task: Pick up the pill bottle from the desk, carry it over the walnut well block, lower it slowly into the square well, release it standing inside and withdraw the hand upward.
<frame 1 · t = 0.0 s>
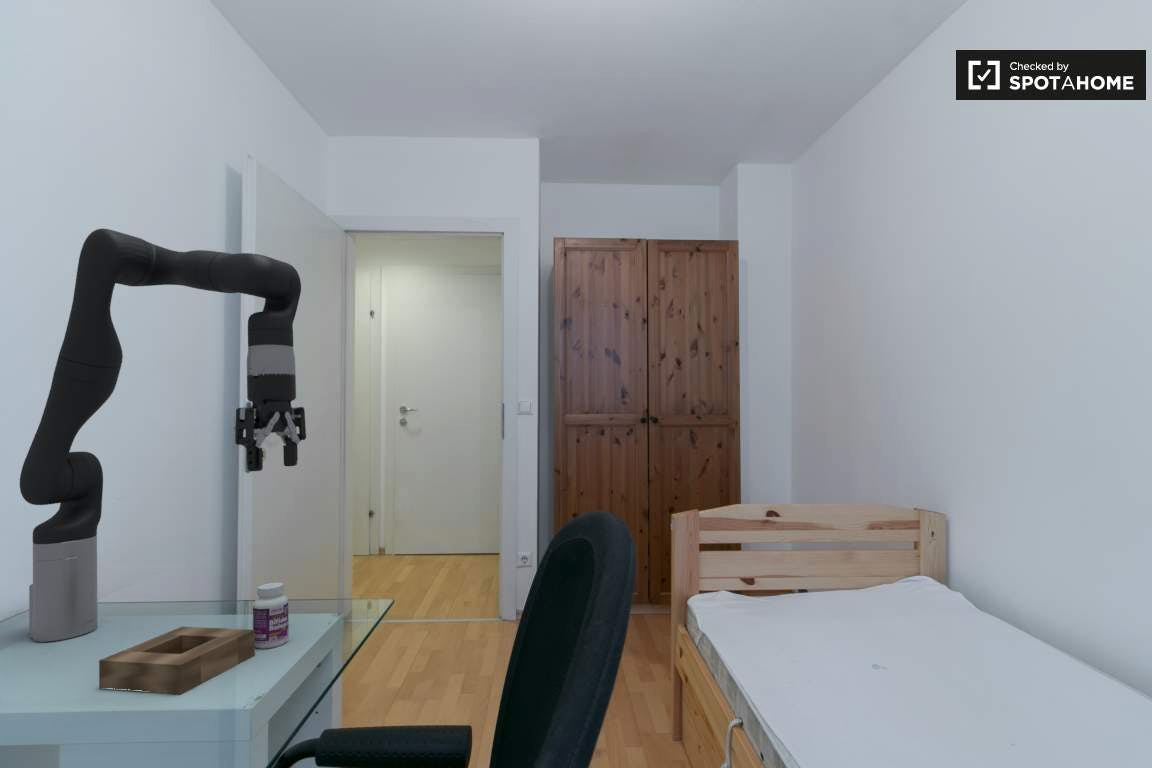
hand: (273, 468, 106), 29 cm above the table, fingers open, 8 cm apart
pill bottle: (271, 644, 104), on the table
well block: (181, 671, 94), on the table
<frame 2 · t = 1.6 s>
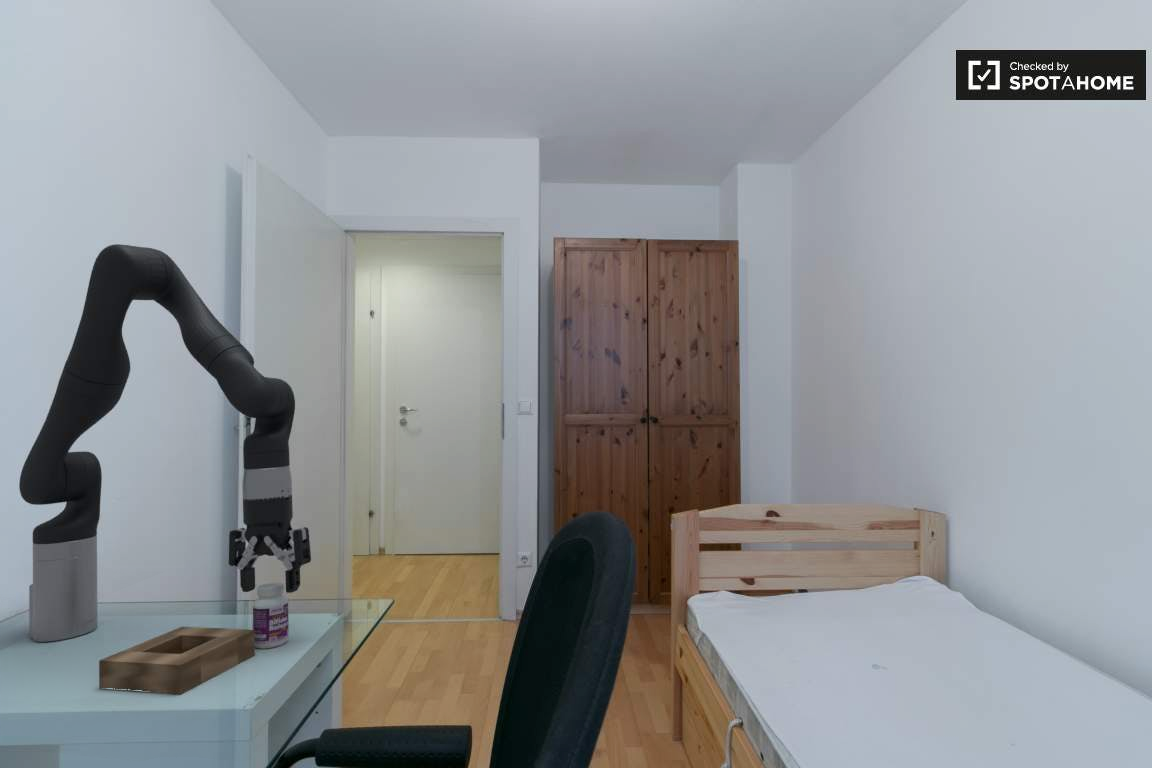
hand: (270, 591, 104), 9 cm above the table, fingers open, 8 cm apart
nothing on the table moved.
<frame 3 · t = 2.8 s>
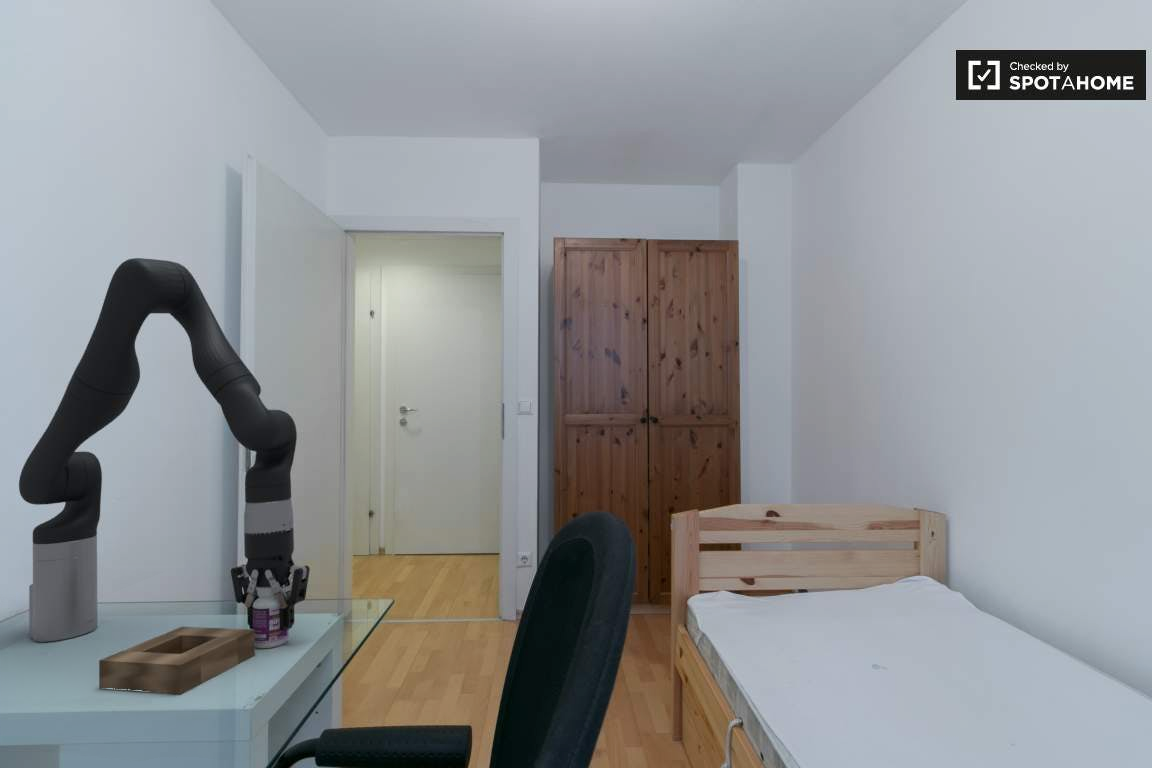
hand: (271, 628, 104), 3 cm above the table, fingers closed on pill bottle, 5 cm apart
pill bottle: (271, 644, 104), on the table, touching gripper
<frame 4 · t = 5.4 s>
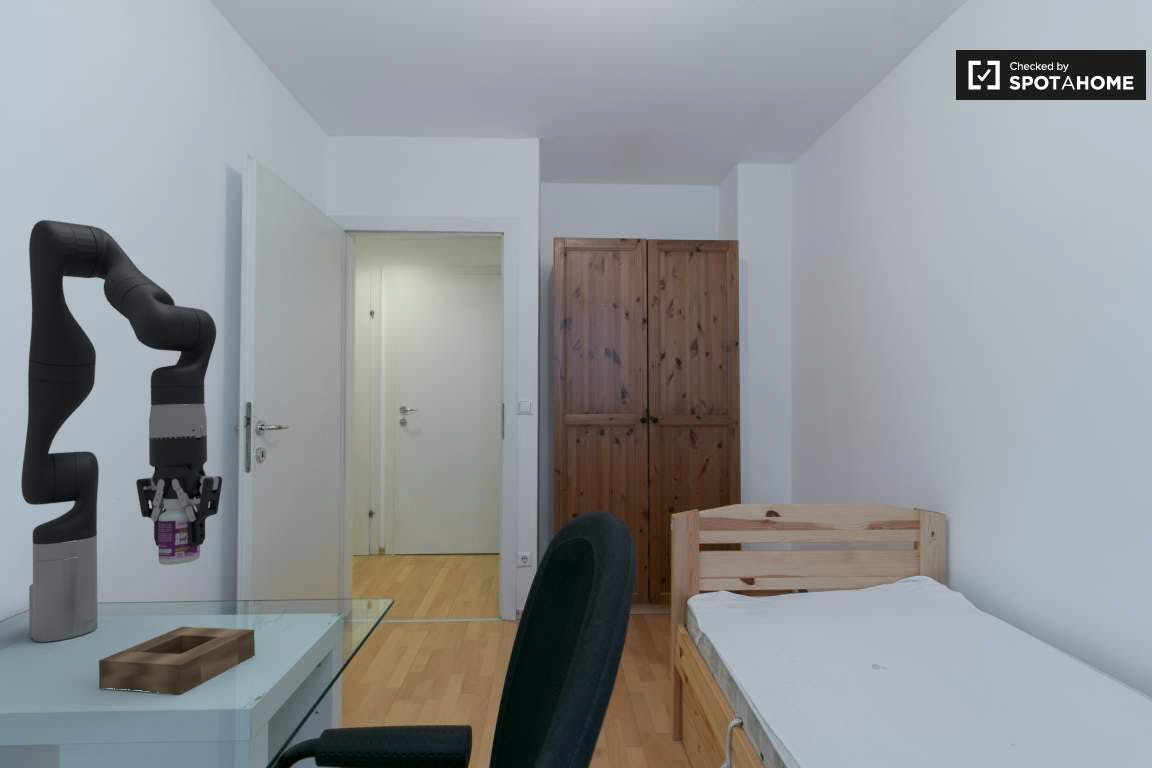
hand: (179, 544, 95), 19 cm above the table, fingers closed on pill bottle, 5 cm apart
pill bottle: (179, 562, 95), point 16 cm above the table, touching gripper
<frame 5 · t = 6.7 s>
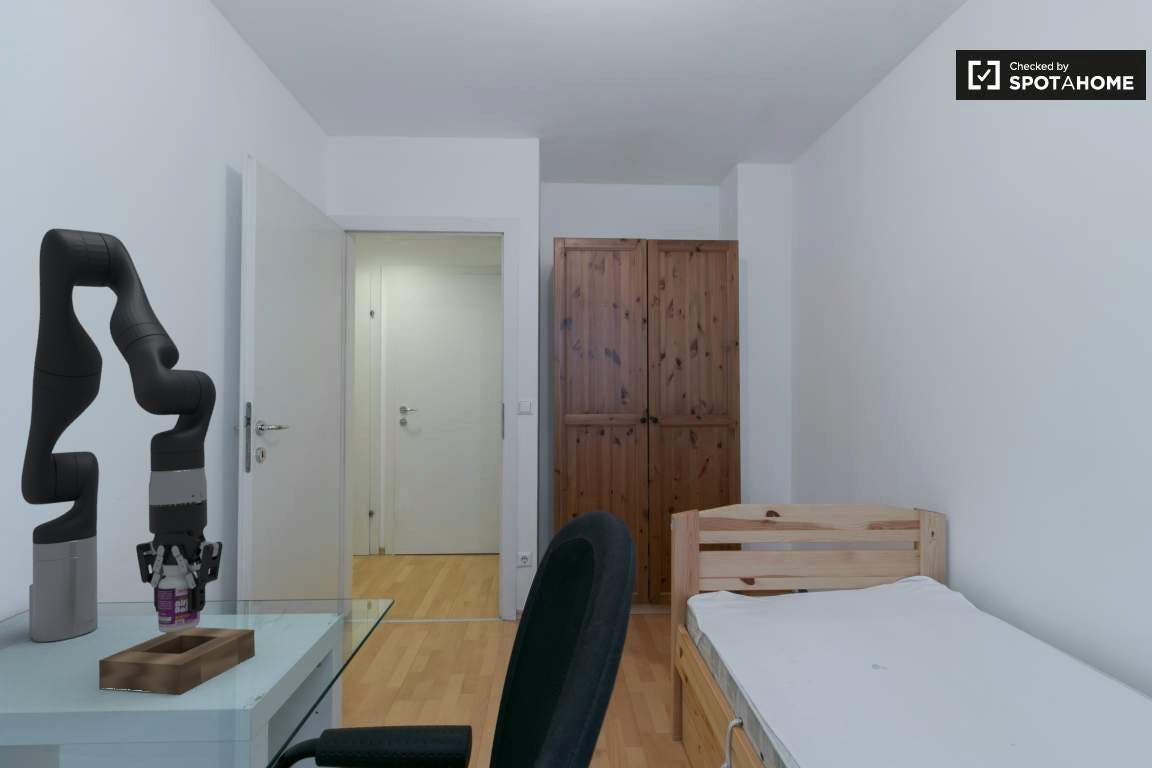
hand: (179, 610, 94), 9 cm above the table, fingers closed on pill bottle, 5 cm apart
pill bottle: (179, 628, 94), point 6 cm above the table, touching gripper
when the fingers open (5 cm above the table, at t = 8.0 s): pill bottle drops 2 cm, resting on well block.
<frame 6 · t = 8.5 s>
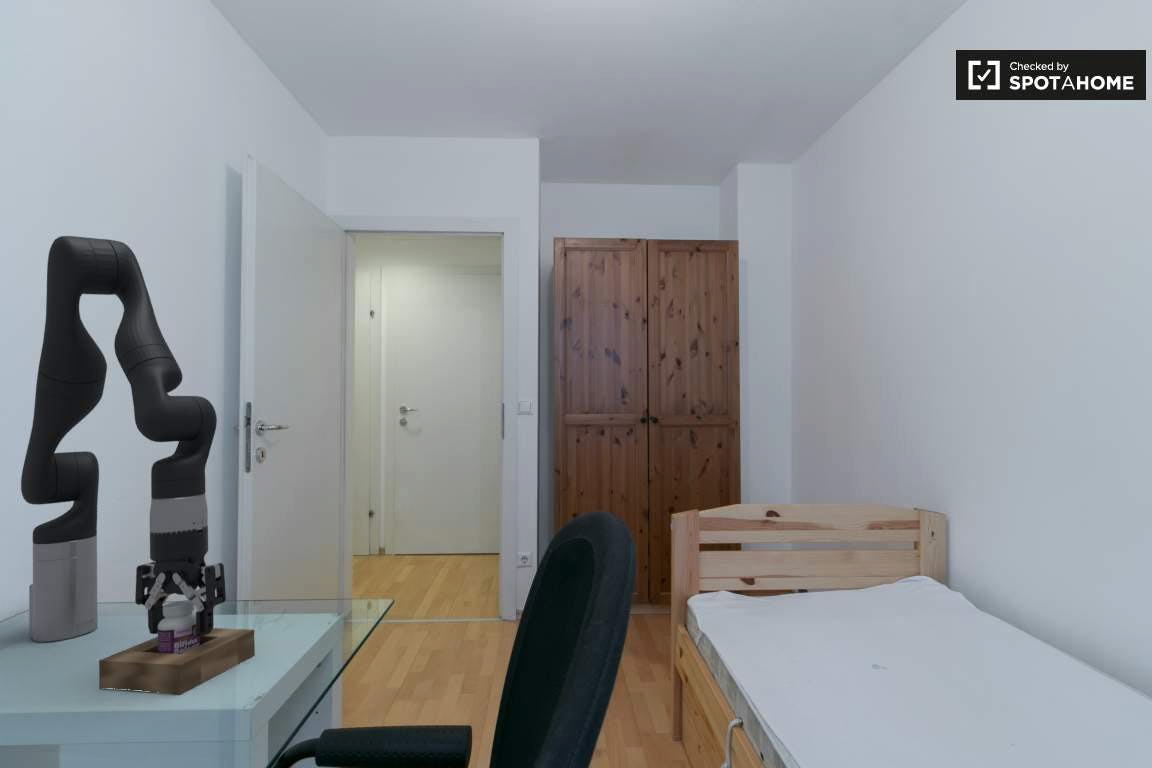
hand: (180, 633, 94), 6 cm above the table, fingers open, 8 cm apart
pill bottle: (179, 669, 94), resting on well block
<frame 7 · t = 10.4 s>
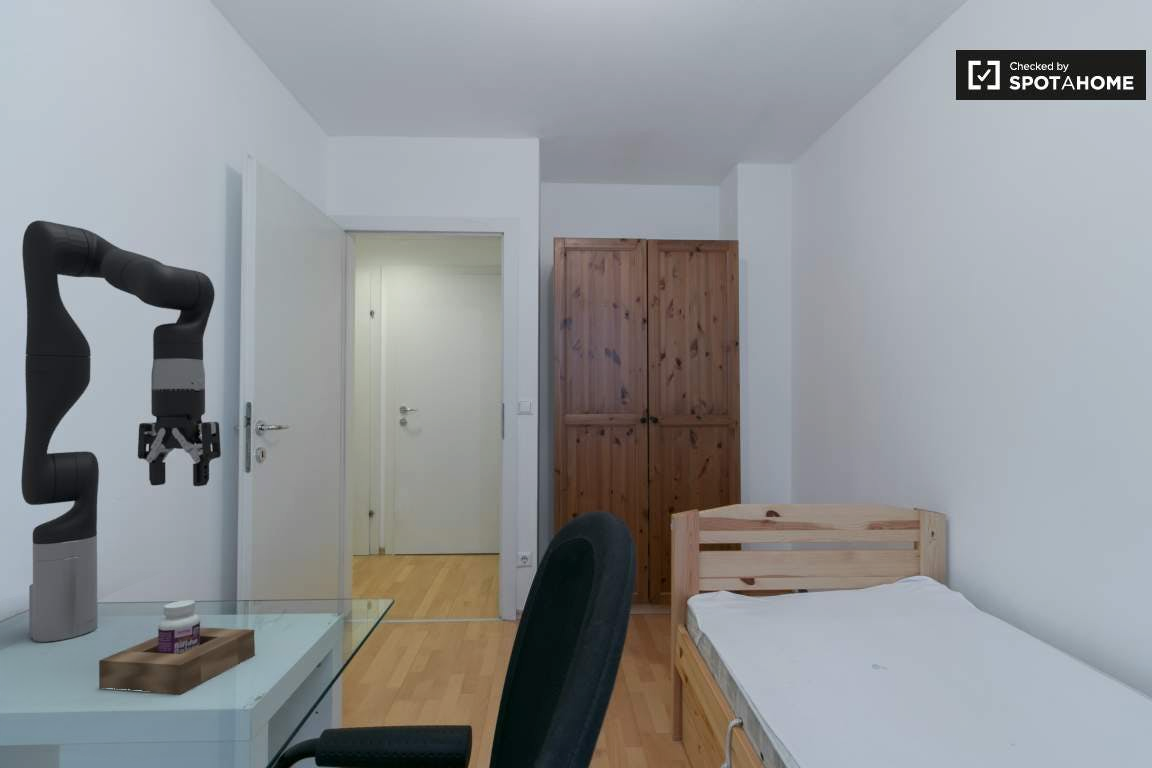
hand: (179, 485, 103), 27 cm above the table, fingers open, 8 cm apart
nothing on the table moved.
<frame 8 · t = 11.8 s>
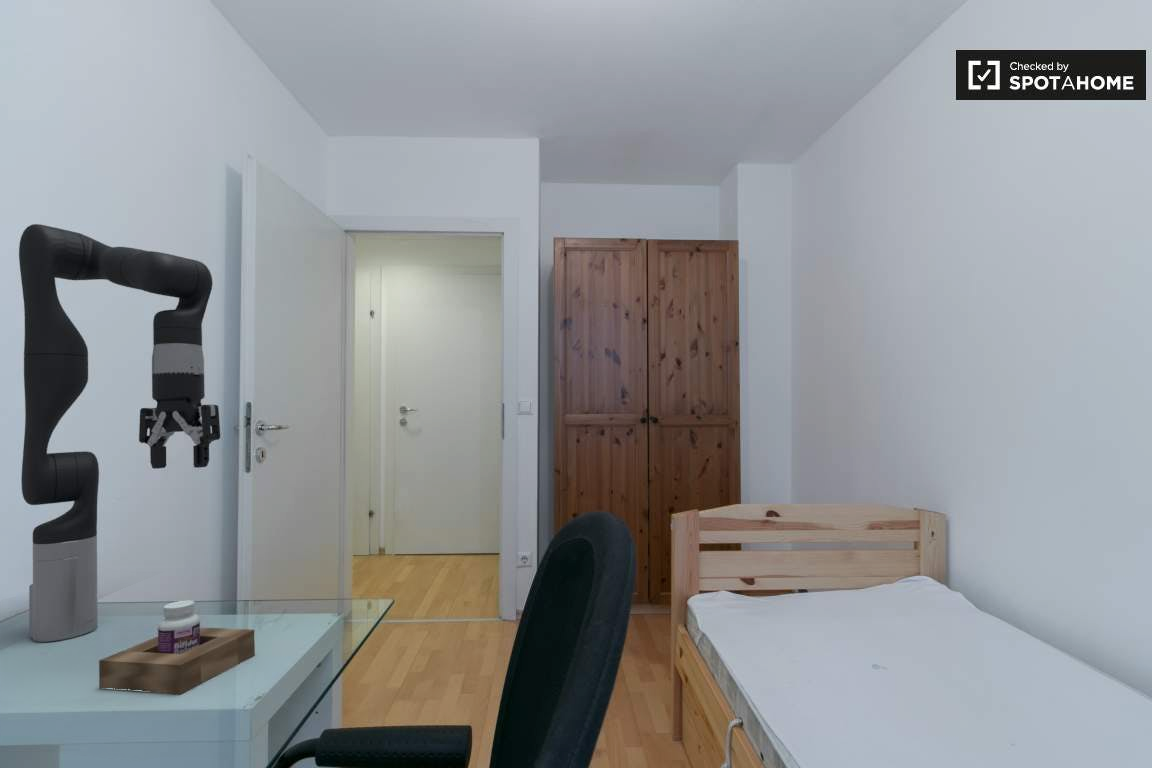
hand: (179, 467, 105), 30 cm above the table, fingers open, 8 cm apart
nothing on the table moved.
at the end: pill bottle 0.2 cm off-centre on the well block, point 0.2 cm above the well block's base; pill bottle tilted 0°; the gripper is holding nothing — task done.
